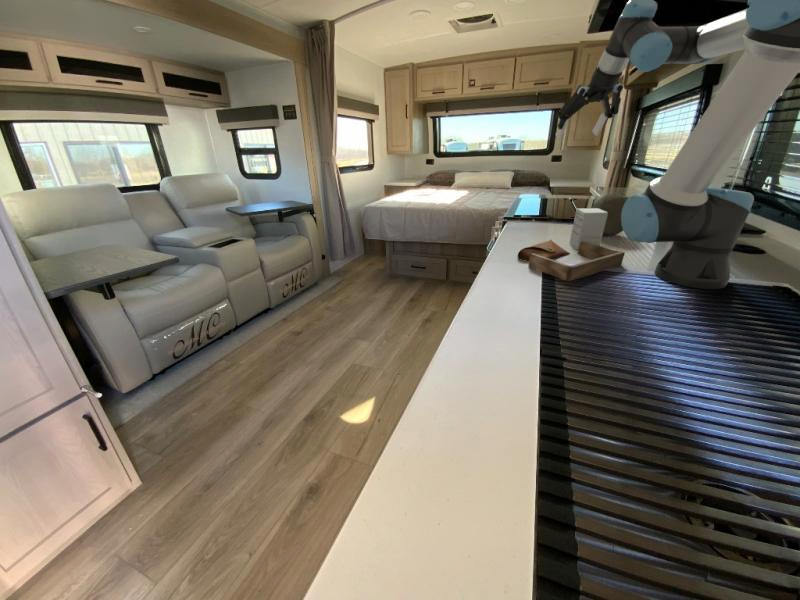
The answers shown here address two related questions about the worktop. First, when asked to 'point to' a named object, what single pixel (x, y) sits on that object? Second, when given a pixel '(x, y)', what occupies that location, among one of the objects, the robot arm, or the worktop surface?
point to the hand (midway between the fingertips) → (576, 135)
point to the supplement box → (588, 226)
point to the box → (602, 261)
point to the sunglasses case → (542, 251)
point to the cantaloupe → (612, 213)
